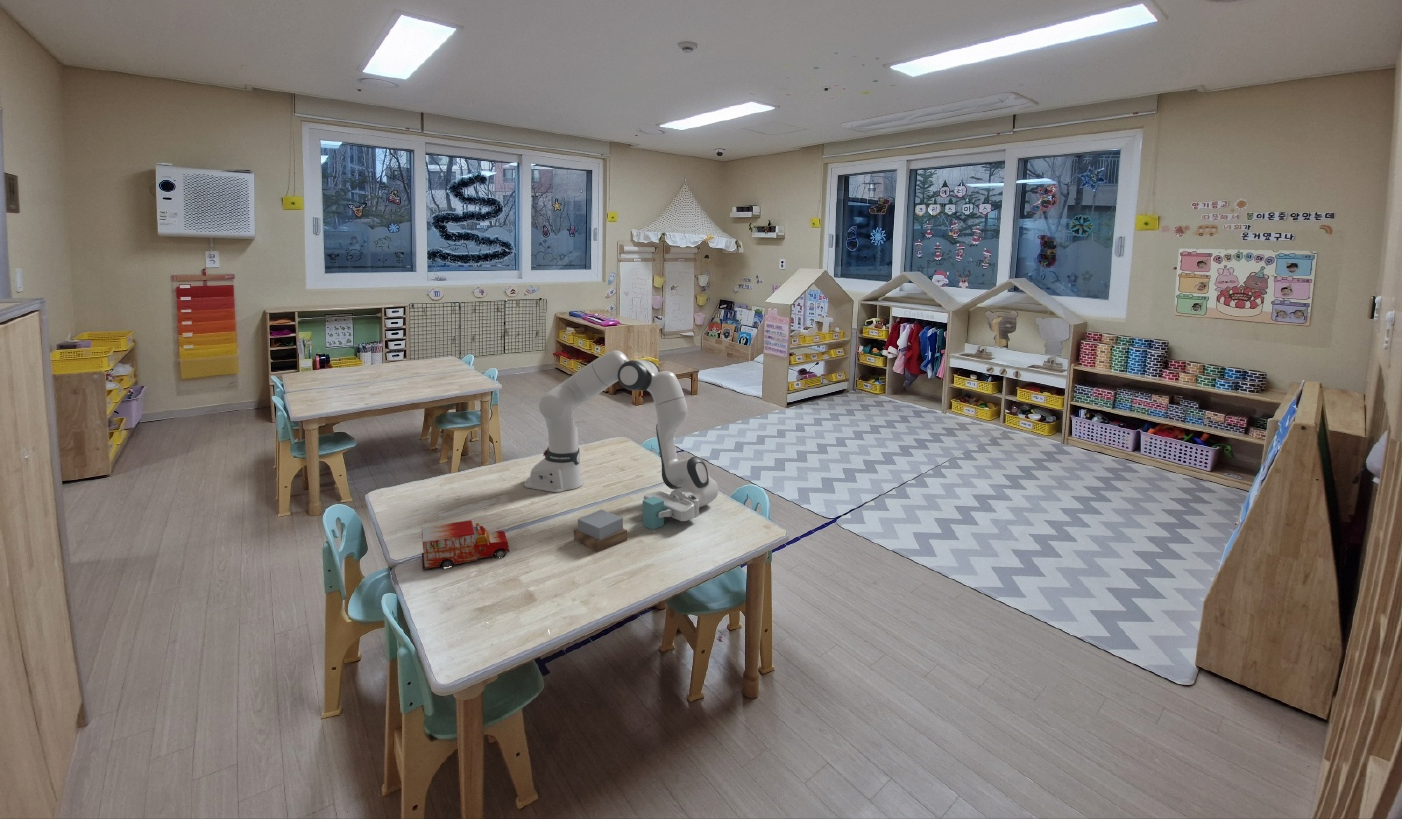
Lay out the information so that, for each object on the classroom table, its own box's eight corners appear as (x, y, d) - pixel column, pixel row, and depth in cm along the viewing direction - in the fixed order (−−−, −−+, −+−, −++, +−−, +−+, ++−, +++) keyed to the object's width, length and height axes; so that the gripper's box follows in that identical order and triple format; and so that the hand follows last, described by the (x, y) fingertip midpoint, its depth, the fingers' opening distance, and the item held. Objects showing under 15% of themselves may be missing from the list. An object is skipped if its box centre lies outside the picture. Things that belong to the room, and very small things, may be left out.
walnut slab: (574, 541, 213) (573, 529, 211) (604, 529, 221) (603, 518, 220) (597, 553, 204) (596, 542, 203) (627, 541, 213) (627, 530, 212)
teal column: (642, 525, 224) (642, 500, 221) (654, 520, 227) (653, 496, 225) (652, 529, 220) (652, 504, 218) (663, 525, 224) (663, 500, 221)
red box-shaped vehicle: (511, 558, 200) (509, 528, 198) (422, 573, 191) (419, 541, 188) (506, 543, 210) (504, 514, 207) (422, 556, 200) (419, 526, 198)
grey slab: (578, 530, 211) (577, 519, 210) (601, 520, 218) (601, 509, 217) (599, 540, 205) (599, 528, 204) (623, 529, 212) (622, 517, 211)
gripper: (661, 484, 237) (631, 494, 228) (702, 500, 224) (672, 512, 214) (661, 500, 239) (631, 511, 230) (701, 518, 225) (671, 530, 216)
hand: (651, 512), depth 222 cm, fingers closed on teal column, 5 cm apart
